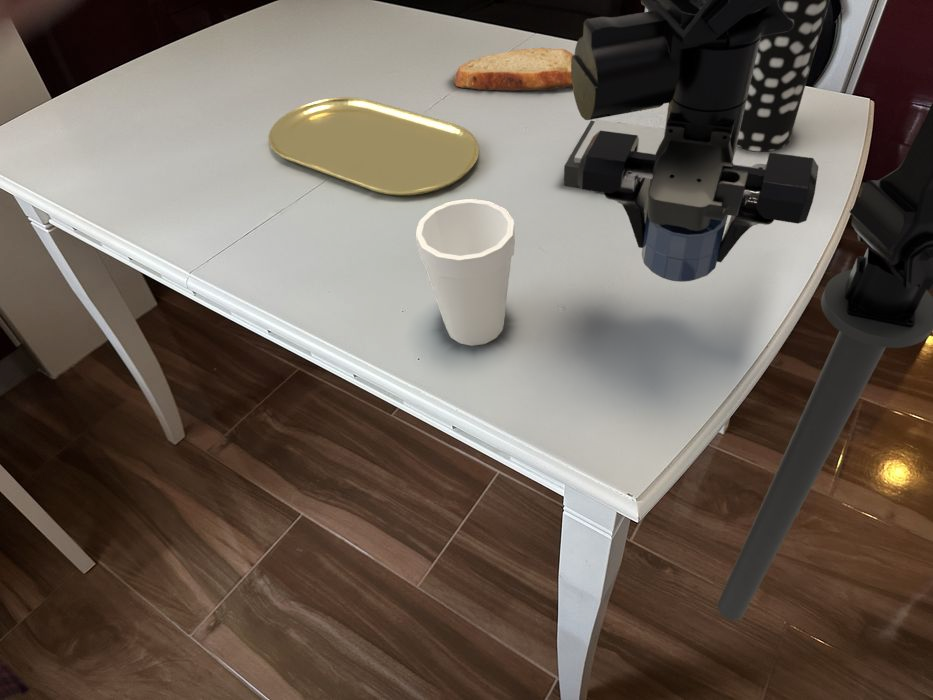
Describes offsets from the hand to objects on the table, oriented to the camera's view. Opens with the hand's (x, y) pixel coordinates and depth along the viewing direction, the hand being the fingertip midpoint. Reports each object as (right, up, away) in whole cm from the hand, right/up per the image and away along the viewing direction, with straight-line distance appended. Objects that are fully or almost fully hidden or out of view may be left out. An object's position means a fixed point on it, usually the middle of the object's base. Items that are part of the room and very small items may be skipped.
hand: (679, 252), depth 64 cm
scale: (+2, +15, +28) cm, 32 cm away
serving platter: (-34, +20, +38) cm, 55 cm away
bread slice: (-11, +35, +49) cm, 61 cm away
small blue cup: (0, -1, +1) cm, 1 cm away
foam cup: (-19, -7, +11) cm, 23 cm away
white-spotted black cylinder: (+21, +21, +31) cm, 43 cm away
